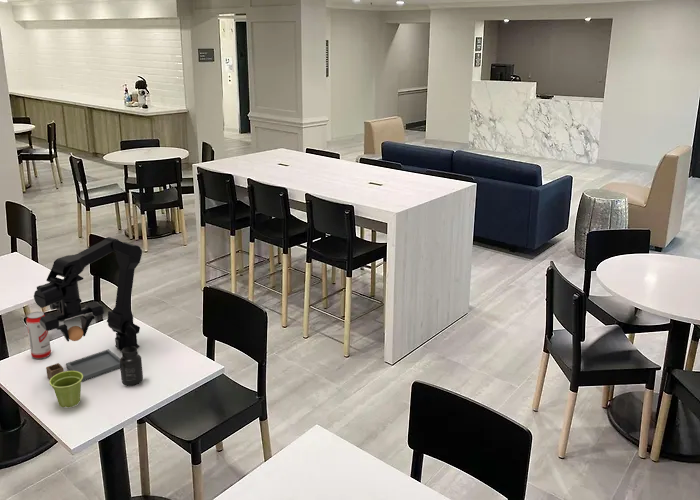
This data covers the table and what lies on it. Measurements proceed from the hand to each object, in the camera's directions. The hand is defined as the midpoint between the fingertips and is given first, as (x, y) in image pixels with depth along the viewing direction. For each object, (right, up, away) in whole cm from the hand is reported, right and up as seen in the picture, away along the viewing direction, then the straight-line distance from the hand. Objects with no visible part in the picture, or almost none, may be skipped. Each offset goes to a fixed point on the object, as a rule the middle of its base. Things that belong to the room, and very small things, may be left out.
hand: (75, 338), depth 200 cm
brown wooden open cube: (-7, -13, 0) cm, 15 cm away
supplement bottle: (+19, -15, 0) cm, 24 cm away
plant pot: (+4, -18, -13) cm, 23 cm away
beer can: (-18, -8, +13) cm, 24 cm away
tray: (+4, -11, +7) cm, 13 cm away
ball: (0, +2, -1) cm, 2 cm away
